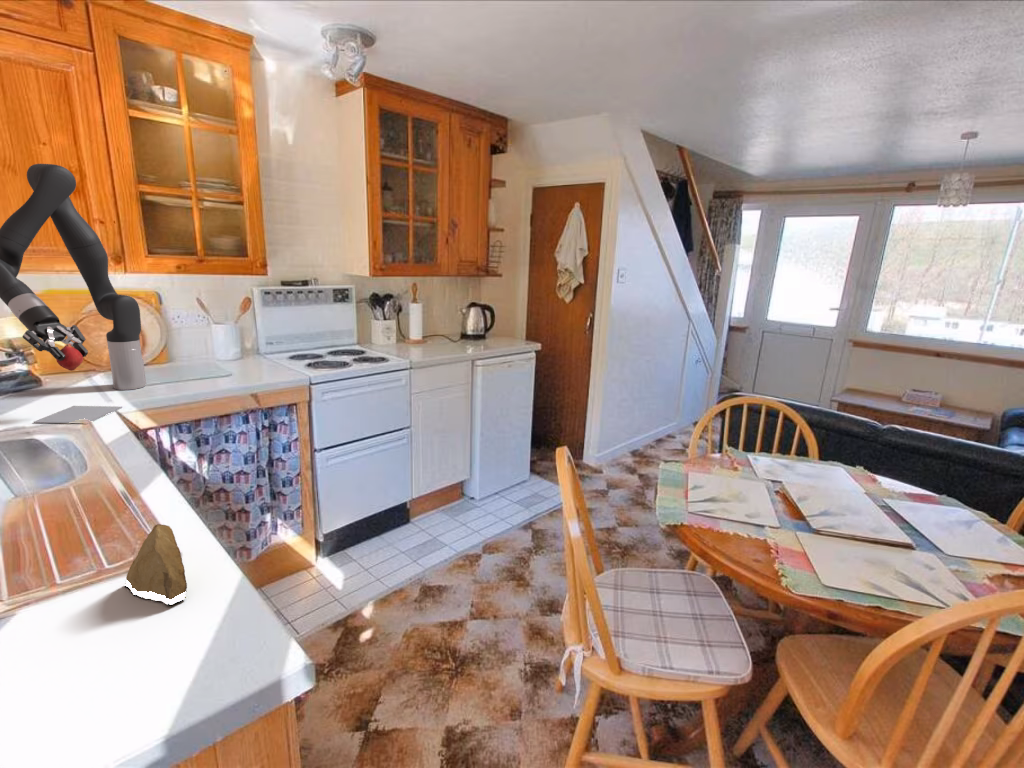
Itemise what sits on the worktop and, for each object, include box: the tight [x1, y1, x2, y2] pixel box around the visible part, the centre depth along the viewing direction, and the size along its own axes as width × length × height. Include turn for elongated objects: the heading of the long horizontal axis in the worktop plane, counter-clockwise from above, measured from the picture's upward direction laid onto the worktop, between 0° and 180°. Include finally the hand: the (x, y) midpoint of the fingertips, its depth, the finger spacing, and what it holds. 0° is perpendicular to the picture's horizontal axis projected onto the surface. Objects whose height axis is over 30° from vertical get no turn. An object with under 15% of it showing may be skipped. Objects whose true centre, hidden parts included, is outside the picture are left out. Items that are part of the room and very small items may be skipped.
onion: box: [55, 344, 84, 372], centre depth 145 cm, size 6×6×8 cm
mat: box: [33, 405, 123, 423], centre depth 149 cm, size 16×14×1 cm
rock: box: [126, 523, 188, 599], centre depth 75 cm, size 11×9×10 cm
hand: (74, 356), depth 145 cm, fingers closed on onion, 6 cm apart
